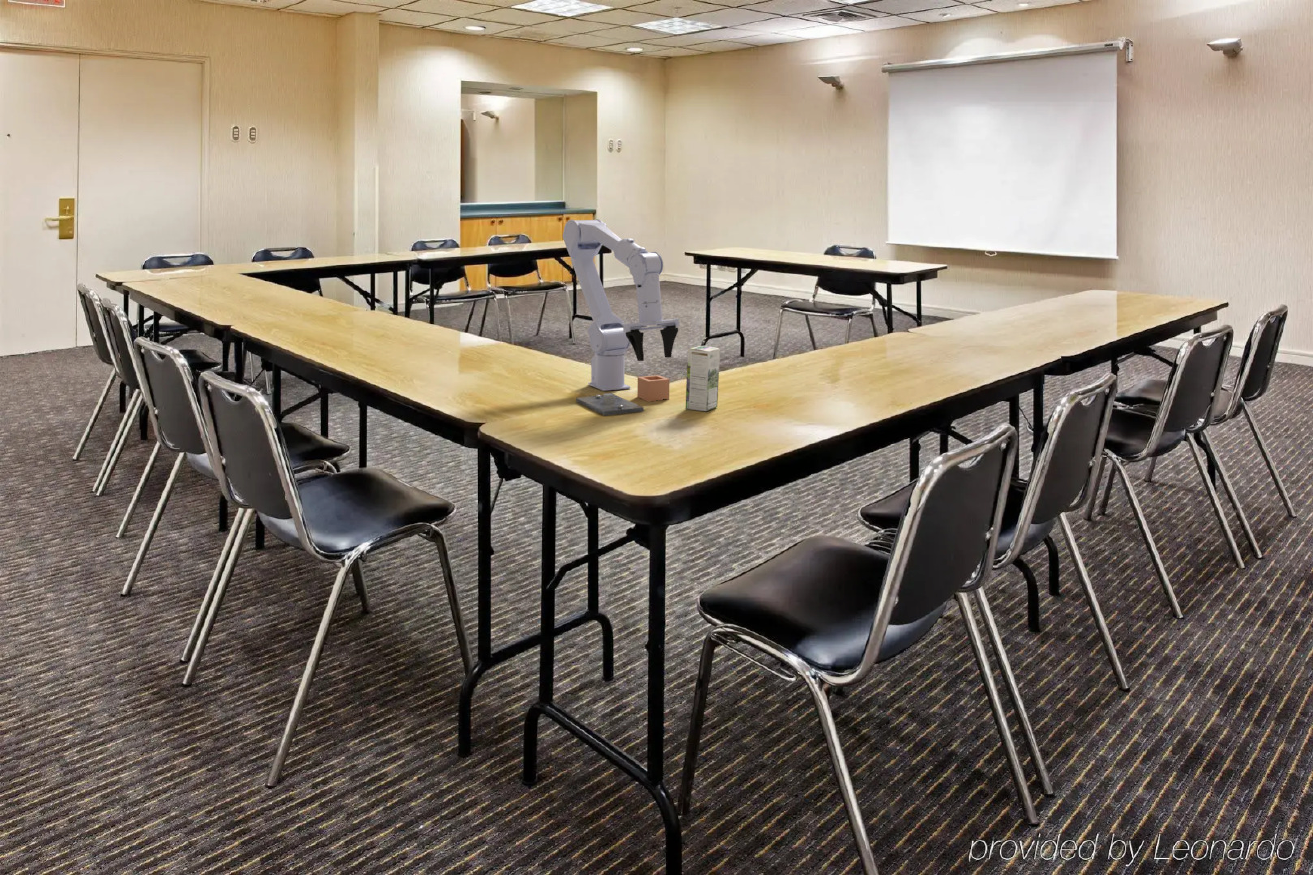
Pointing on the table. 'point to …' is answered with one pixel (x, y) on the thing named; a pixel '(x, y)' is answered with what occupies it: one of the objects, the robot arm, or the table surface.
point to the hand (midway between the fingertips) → (654, 359)
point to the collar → (653, 388)
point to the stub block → (609, 404)
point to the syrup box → (702, 378)
